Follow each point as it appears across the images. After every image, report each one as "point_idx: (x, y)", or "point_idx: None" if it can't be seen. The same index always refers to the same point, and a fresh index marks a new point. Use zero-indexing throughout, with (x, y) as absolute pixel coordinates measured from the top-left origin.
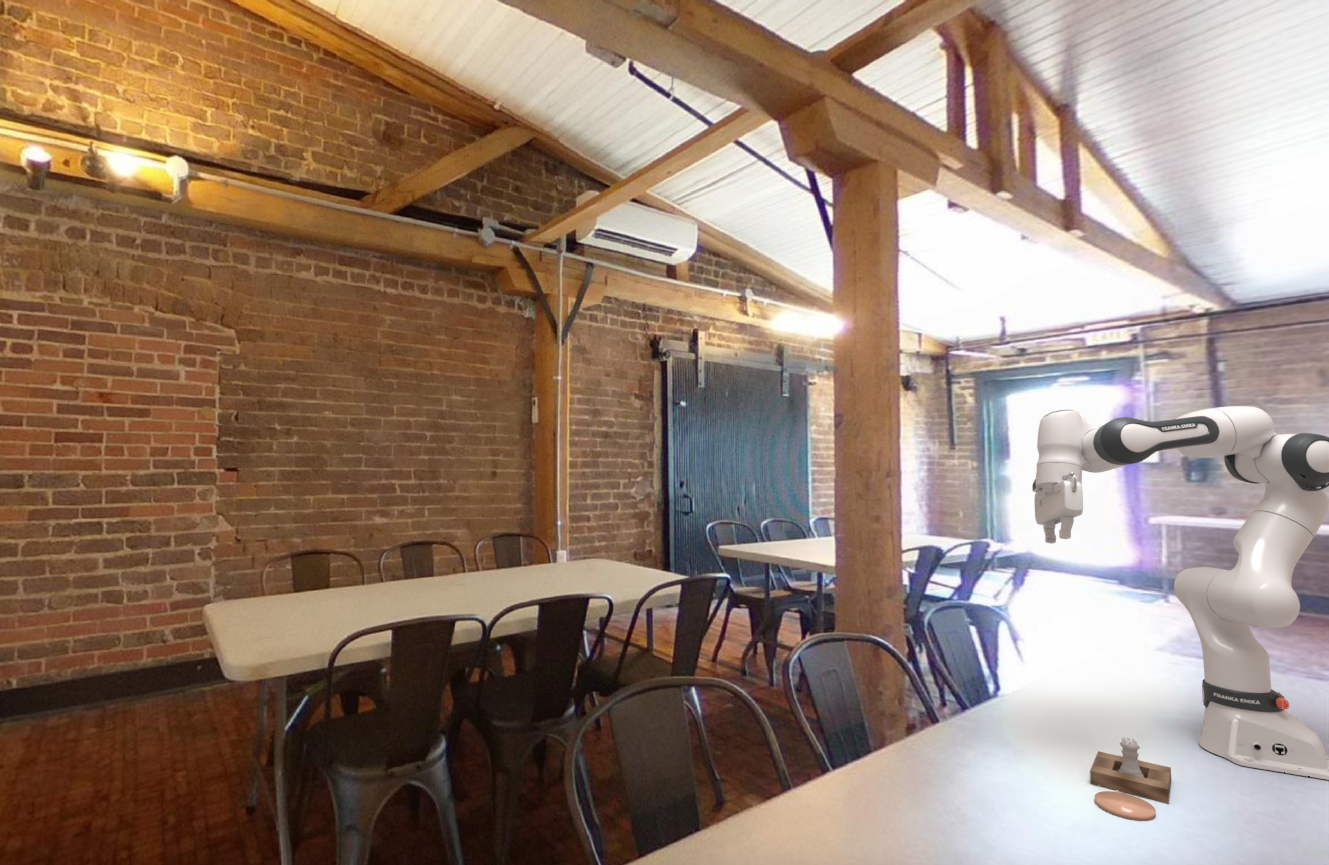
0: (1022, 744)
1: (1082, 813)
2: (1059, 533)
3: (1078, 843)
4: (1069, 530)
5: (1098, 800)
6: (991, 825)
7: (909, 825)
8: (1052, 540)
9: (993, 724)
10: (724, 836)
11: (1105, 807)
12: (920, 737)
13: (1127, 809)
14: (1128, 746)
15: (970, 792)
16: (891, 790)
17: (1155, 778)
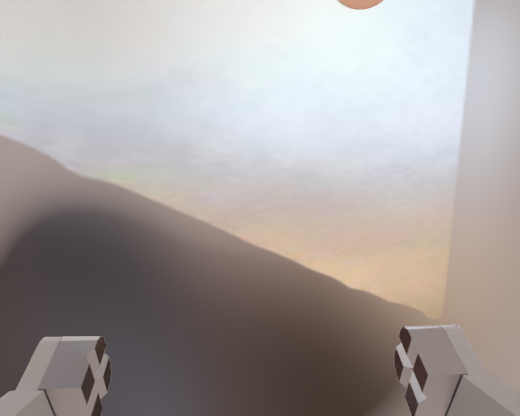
0: (142, 62)
1: (383, 36)
2: (407, 394)
3: (448, 64)
4: (484, 379)
5: (362, 6)
6: (410, 143)
7: (410, 208)
8: (101, 362)
9: (46, 96)
10: (423, 305)
11: (379, 2)
12: (173, 205)
13: None
14: None
15: (339, 156)
16: (343, 225)
17: None
